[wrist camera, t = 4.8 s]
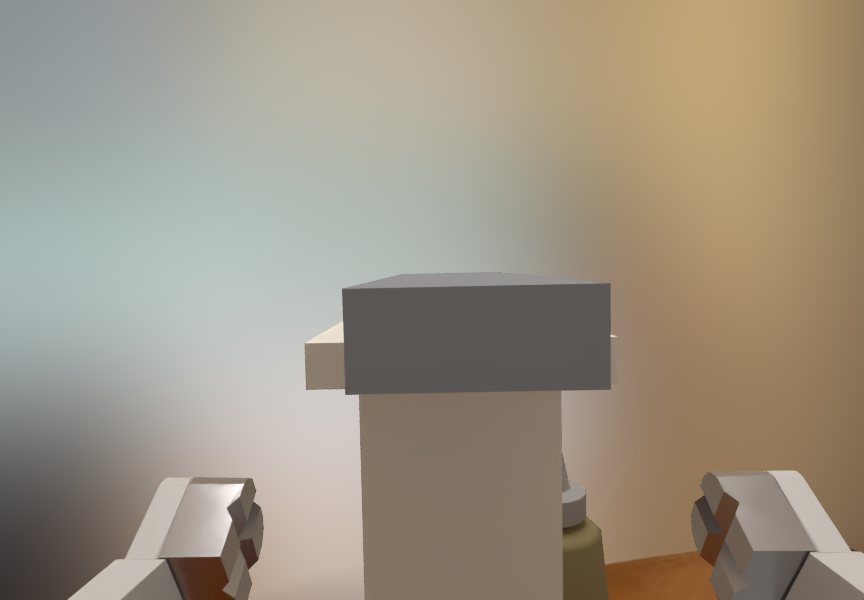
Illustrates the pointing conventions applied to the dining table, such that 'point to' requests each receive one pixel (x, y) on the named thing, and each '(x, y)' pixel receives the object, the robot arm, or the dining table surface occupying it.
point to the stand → (456, 488)
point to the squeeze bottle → (580, 547)
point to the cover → (476, 334)
